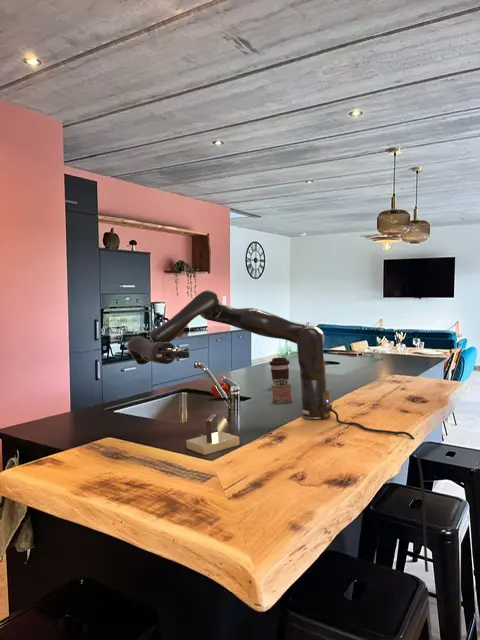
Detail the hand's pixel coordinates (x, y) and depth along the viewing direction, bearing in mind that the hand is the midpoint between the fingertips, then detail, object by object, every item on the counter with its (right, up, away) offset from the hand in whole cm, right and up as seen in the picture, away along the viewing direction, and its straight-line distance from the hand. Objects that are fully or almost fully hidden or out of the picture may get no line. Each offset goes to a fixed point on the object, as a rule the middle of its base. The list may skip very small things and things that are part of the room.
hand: (186, 354), depth 156 cm
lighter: (+35, -24, +52) cm, 67 cm away
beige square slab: (+9, -28, -7) cm, 30 cm away
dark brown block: (+9, -25, -7) cm, 28 cm away
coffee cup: (+38, -23, +86) cm, 96 cm away
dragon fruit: (+9, -25, +68) cm, 74 cm away
